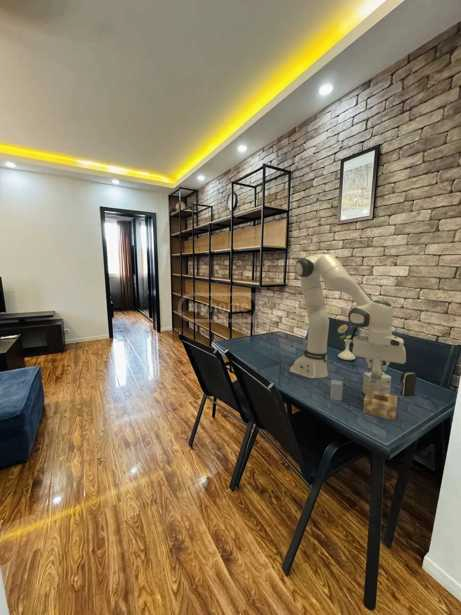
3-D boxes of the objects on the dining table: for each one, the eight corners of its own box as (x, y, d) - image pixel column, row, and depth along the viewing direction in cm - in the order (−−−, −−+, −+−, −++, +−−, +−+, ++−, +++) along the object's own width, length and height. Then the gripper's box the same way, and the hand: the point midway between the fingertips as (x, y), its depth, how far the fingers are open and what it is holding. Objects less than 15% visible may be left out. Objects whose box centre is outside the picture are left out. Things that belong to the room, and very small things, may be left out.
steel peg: (370, 378, 113) (371, 356, 111) (371, 375, 116) (373, 354, 114) (380, 381, 110) (382, 358, 109) (381, 377, 114) (383, 356, 112)
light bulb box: (381, 391, 134) (383, 371, 132) (390, 397, 127) (392, 377, 125) (361, 391, 133) (363, 371, 132) (369, 397, 127) (370, 377, 125)
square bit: (330, 399, 125) (331, 383, 124) (330, 394, 130) (331, 379, 129) (341, 400, 124) (342, 385, 122) (340, 396, 128) (341, 381, 127)
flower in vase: (351, 356, 188) (354, 323, 185) (357, 362, 177) (360, 326, 173) (333, 355, 189) (335, 322, 186) (338, 361, 178) (340, 326, 175)
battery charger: (408, 391, 134) (410, 370, 132) (415, 394, 130) (417, 373, 129) (397, 392, 132) (399, 371, 130) (404, 396, 128) (406, 374, 127)
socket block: (363, 412, 114) (364, 399, 113) (366, 400, 124) (367, 389, 123) (395, 420, 107) (396, 407, 106) (395, 408, 117) (397, 396, 116)
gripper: (351, 336, 114) (349, 366, 116) (407, 343, 102) (404, 376, 104) (354, 333, 119) (352, 362, 121) (407, 340, 107) (404, 371, 109)
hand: (377, 368), depth 113 cm, fingers closed on steel peg, 4 cm apart
